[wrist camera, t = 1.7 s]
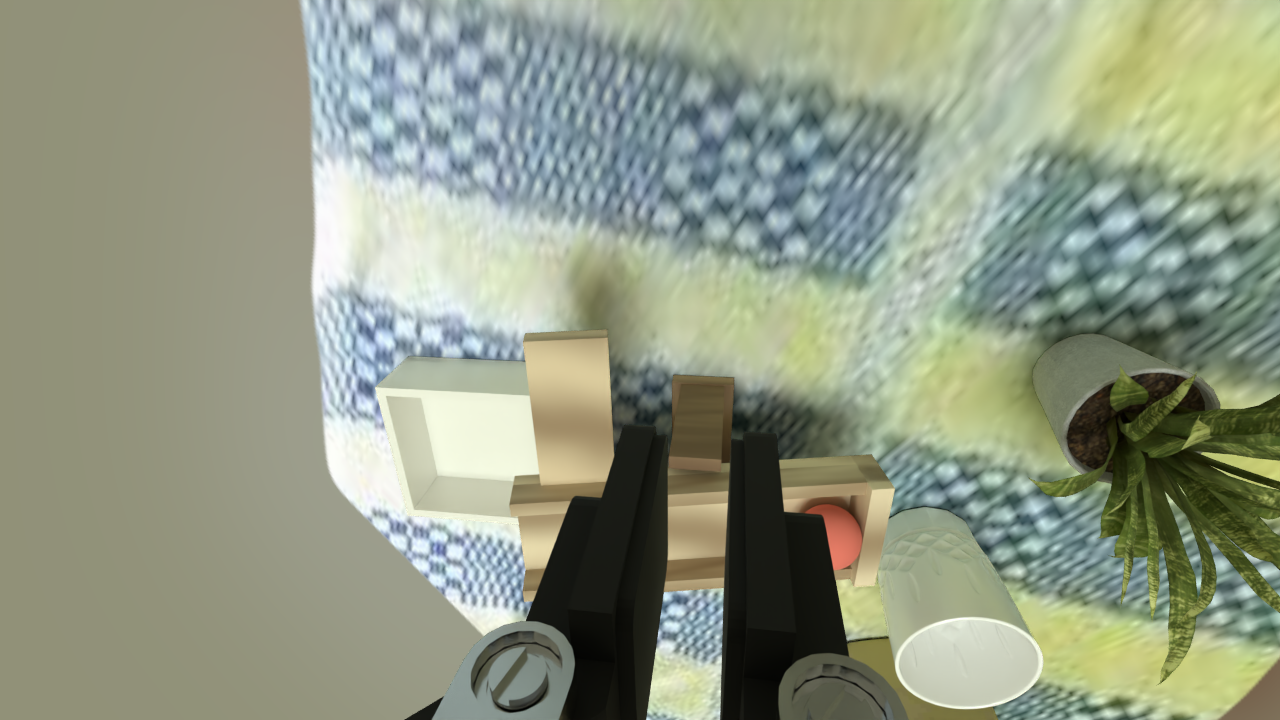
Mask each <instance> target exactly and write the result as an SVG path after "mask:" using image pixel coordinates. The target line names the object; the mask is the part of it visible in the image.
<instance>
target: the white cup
mask: <svg viewBox="0 0 1280 720" xmlns="http://www.w3.org/2000/svg"><path fill="white" fill-rule="evenodd" d="M877 574H878V582H879V588H880V592H881V599H882V605H883V611H884V616H885V621H886V626H887V631H888V635H889V640H890V645H891V650H892V655H893V660H894V665H895V670H896V674H897V676H898V678H899V680H900V682H901V683H902V685H903V686H904V687H905V688H906V689H907V690H908V691H909V692H911V693H912V694H913V695H915V696H916V697H918V698H920V699H922V700H924V701H926V702H929V703H931V704H935V705H938V706H942V707H947V708H954V709H980V708H987V707H992V706H996V705H1000V704H1003V703H1006V702H1008V701H1011V700H1013V699H1015V698H1017V697H1018V696H1020V695H1022V694H1023V693H1025V692H1026V691H1027V690H1029V689H1030V688H1031V687H1032V686H1033V685H1034V684H1035V682H1036V681H1037V680H1038V678H1039V676H1040V674H1041V672H1042V668H1043V655H1042V651H1041V649H1040V647H1039V645H1038V643H1037V642H1036V640H1035V638H1034V636H1033V634H1032V633H1031V631H1030V629H1029V627H1028V626H1027V624H1026V622H1025V620H1024V619H1023V617H1022V615H1021V614H1020V612H1019V610H1018V608H1017V606H1016V605H1015V603H1014V601H1013V599H1012V597H1011V595H1010V594H1009V592H1008V590H1007V588H1006V586H1005V585H1004V583H1003V582H1002V580H1001V579H1000V577H999V575H998V573H997V571H996V570H995V568H994V566H993V565H992V563H991V562H990V560H989V558H988V556H987V555H986V554H985V553H984V552H983V551H982V549H981V548H980V546H979V545H978V543H977V542H976V540H975V538H974V536H973V534H972V533H971V531H970V529H969V527H968V526H967V524H966V522H965V521H964V520H962V519H961V518H959V517H957V516H956V515H954V514H952V513H951V512H949V511H947V510H942V509H936V508H929V507H921V508H916V509H910V510H905V511H902V512H900V513H898V514H896V515H895V516H893V517H891V518H889V519H888V524H887V529H886V534H885V538H884V543H883V548H882V553H881V558H880V562H879V567H878V572H877Z"/></svg>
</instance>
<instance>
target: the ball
mask: <svg viewBox="0 0 1280 720" xmlns="http://www.w3.org/2000/svg"><path fill="white" fill-rule="evenodd" d="M805 513H808V514H821V515H822V516H823V518H824V521H825V526H826V531H827V537H828V542H829V547H830V553H831V558H832V564H833V569H834V570H840V569H843V568H845V567H847V566H849V565H850V564H852V563H853V562H854V561H855V560H856V558H857V557H858V555H859V553H860V551H861V547H862V533H861V530H860V527H859V525H858V523H857V521H856V520H855V518H854V517H853V516H852V515H851V514H850V513H849V512H847V511H846V510H844V509H843V508H841V507H838V506H835V505H830V504H824V505H818V506H815V507H812V508H811V509H809V510H807V511H806V512H805Z"/></svg>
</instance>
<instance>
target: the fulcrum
mask: <svg viewBox="0 0 1280 720" xmlns="http://www.w3.org/2000/svg"><path fill="white" fill-rule="evenodd" d="M733 393H734V378H729V377H707V376H686V375H673V380H672V440H671V446H670V452H669V468H671V469H686V470H700V471H715V472H721V463H730V450H731V431H732V412H733Z"/></svg>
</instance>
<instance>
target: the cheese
mask: <svg viewBox="0 0 1280 720" xmlns="http://www.w3.org/2000/svg"><path fill="white" fill-rule="evenodd" d="M847 646H848V651H849V657H850V658H853V659H855V660H857V661H860V662H862V663H864V664H866V665H868V666H869V667H870V668H872V669H873V670H874V671H876V672H877V673H879V674H880V675H881V676H883V677H884V678H885V680H886V681H887V682H888V683H889V684H890V686H891V687H892V688H893V689H894V690H895V691H896V693H897V694H898V696H899V698H900V700H901V702H902V704H903V706H904V708H905V710H906V713H907V716H908V719H909V720H998V718H997V716H996V713H995V711H994V709H993V707H987V708H980V709H954V708H947V707H942V706H938V705H935V704H931V703H929V702H926V701H924V700H922V699H920V698H918V697H916V696H915V695H913V694H912V693H911V692H909V691H908V690H907V689H906V688H905V687H904V686H903V685H902V683H901V682H900V680H899V678H898V676H897V674H896V670H895V665H894V660H893V655H892V650H891V645H890V640H889V638H886V639H875V640H864V641H857V642H851V643H848V644H847Z"/></svg>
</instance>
